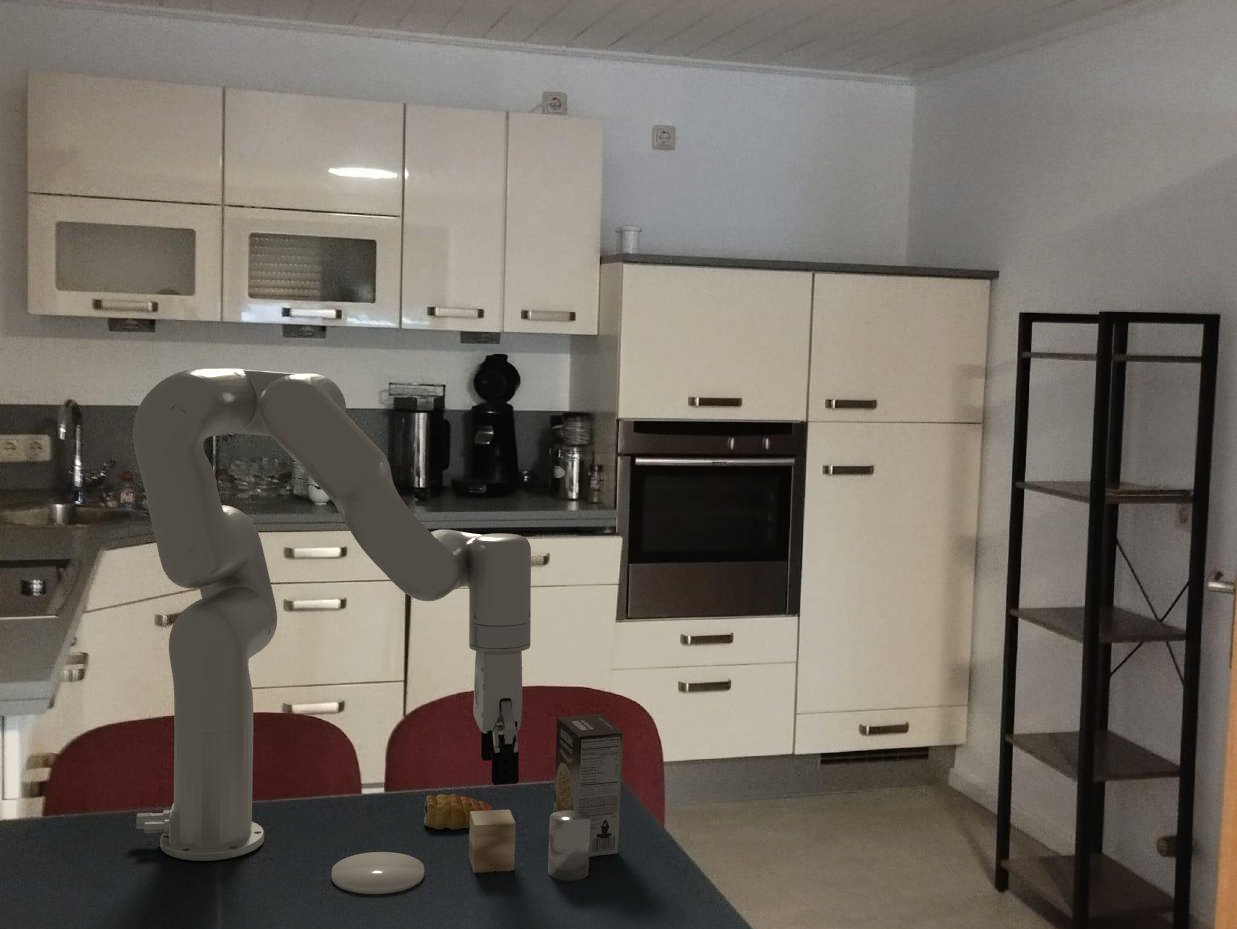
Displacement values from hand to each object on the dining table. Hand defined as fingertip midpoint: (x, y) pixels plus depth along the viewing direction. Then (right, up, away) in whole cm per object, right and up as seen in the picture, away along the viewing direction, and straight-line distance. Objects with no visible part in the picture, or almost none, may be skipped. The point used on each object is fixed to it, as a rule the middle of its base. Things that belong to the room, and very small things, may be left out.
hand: (499, 771), depth 166 cm
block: (-1, -12, +1) cm, 12 cm away
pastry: (-8, -11, +15) cm, 20 cm away
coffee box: (+10, -12, +9) cm, 18 cm away
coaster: (-14, -12, -4) cm, 19 cm away
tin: (+9, -12, -1) cm, 15 cm away
